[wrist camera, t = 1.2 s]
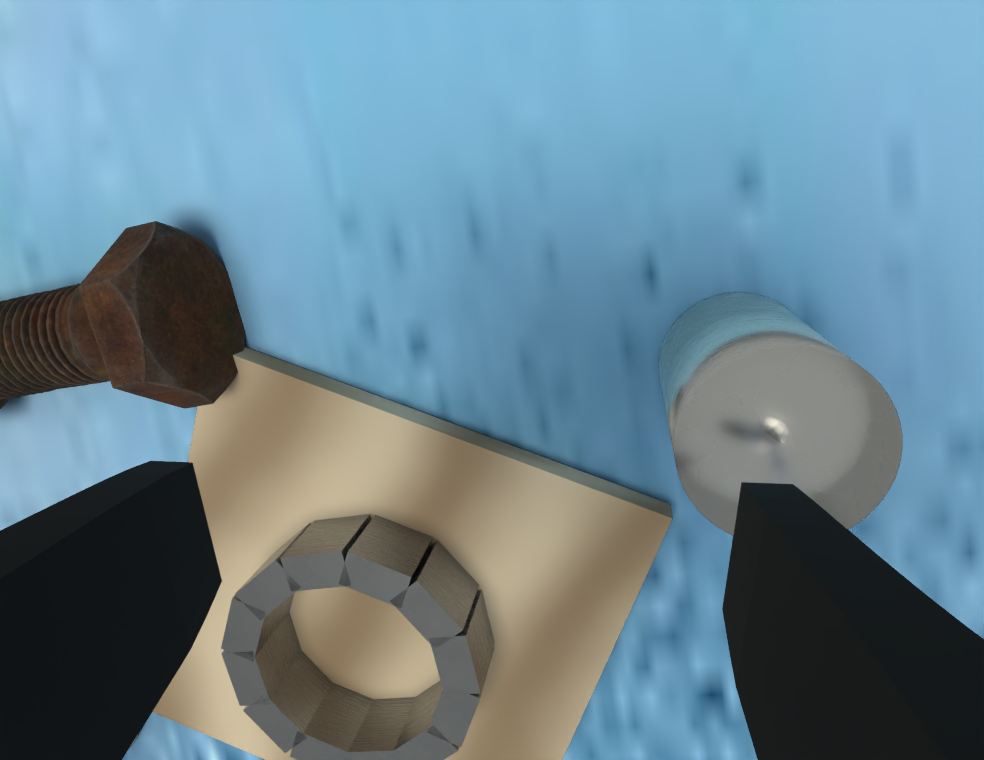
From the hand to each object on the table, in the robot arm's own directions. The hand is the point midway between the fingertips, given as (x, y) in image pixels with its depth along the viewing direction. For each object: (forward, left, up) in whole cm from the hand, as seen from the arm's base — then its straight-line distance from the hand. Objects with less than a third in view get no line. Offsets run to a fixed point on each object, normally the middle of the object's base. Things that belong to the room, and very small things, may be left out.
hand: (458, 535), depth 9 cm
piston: (-5, -1, -13) cm, 14 cm away
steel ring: (+3, +12, -13) cm, 18 cm away
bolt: (+17, +6, -14) cm, 23 cm away
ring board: (+3, +12, -13) cm, 18 cm away
